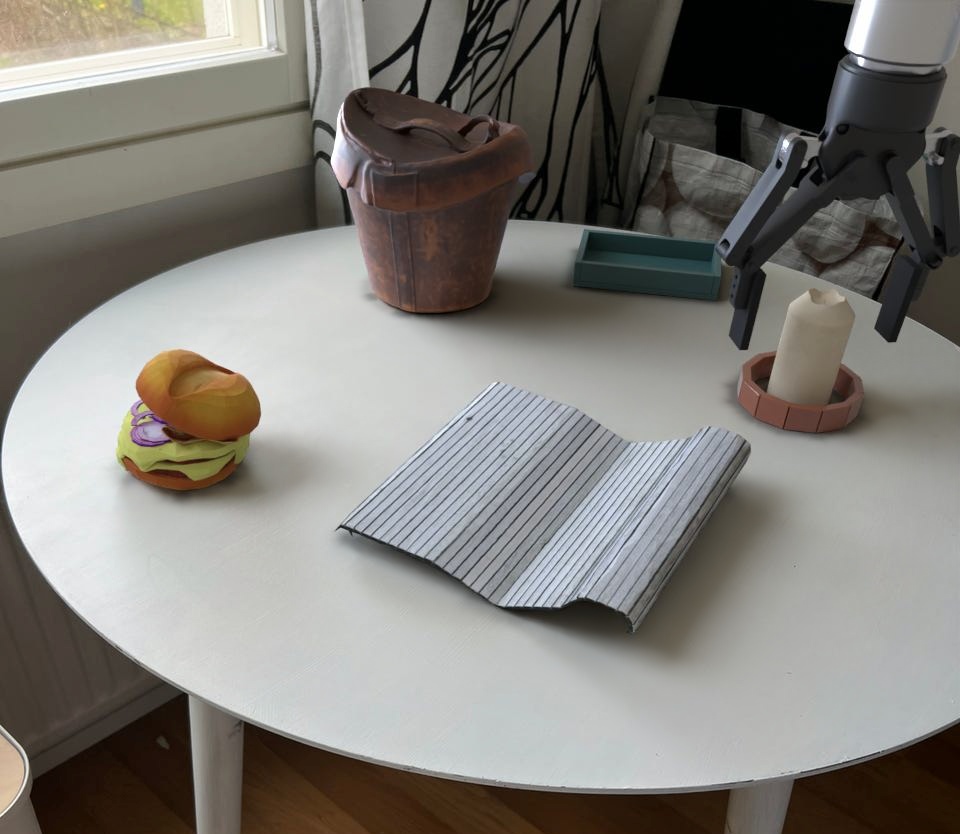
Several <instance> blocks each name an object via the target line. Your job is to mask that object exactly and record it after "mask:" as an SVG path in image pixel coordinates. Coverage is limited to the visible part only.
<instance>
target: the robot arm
mask: <svg viewBox="0 0 960 834" xmlns="http://www.w3.org/2000/svg"><path fill="white" fill-rule="evenodd" d="M843 45H844V47H845V49H846V50H847V52H848V54H846V55H844V57H842V59H840V60H839V61H838V64H837V69H836V73H835V76H834V80H833V84H832V87H831V91H830V95H829V98H828V102H827V108H826V117H825V123H824V126H823V128H822V129H821V131H820V133H819V134H818V135H817V136H816V137H814V136H806V135H799V134H797V132H795V131H794V130H792V129H786V130H784V131H783V132H782V133H781V134H780V136H779V138H778V140H777V141H778V142H777V144H776V148H775V150H774V154H773V156H772V160H771V162H770V163H769V165H768V166H767V167H766V169H765V171H764V172H763V174H762V175H761V176H760V178H759V180H758V182H756V183H755V185H754V187H753V188H752V190H751V192H750V193H749V194H748V196H747V198H746V199H745V201H744V202H743V203H742V205H741V206H740V208H739V210H738V211H737V212H736V214H735V215H734V217H733V219H732V220H731V222H730V223H729V224H728V226H727V227H726V229H725V231H724V232H723V234H722V235H721V236H720V238H719V239H718V241H717V242H718V243H717V244H716V248H715V250H716V252H717V253H718V255H719V256H720V257H721V260H723V262H724V263H725V264H726V265H727V266H728V267H733V273H732V278H731V282H730V285H729V291H728V295H727V297H728V302H729V304H730V305H731V307H732V308H733V309H734V310H733V313H732V314H733V315H732V317H731V318H732V320H731V323H730V327H729V332H728V337H729V339H730V340H731V341H732V342H733V344H734V345H735V346H736V348H737V349H738V351H748V350H749V348H750V343H751V339H752V337H753V332H754V328H755V323H756V319H757V315H758V311H759V307H760V303H761V300H762V295H763V292H764V287H765V283H766V279H767V275H768V274H767V273H766V272H765V271H764V269H762V267H763V265H765V264H766V263H767V262H768V261H769V260H770V259H771V258H772V257H773V256H774V255H775V254H776V253H777V252H778V251H779V250H780V249H781V248H782V247H783V246H784V245H785V244H786V243H787V242H788V241H789V240H790V239H791V238H792V237H793V236H794V235H795V234H796V233H797V232H798V231H799V230H800V229H801V228H802V227H803V226H804V225H805V224H806V223H807V222H809V220H810V219H812V218H813V216H814V215H815V214H817V213H818V211H820V210H822V209H825V208H827V207H829V206H830V205H831V204H833V202H834V201H835V200H836V199H837V198H838V199H839V200H840V201H842V202H849V201H854V200H855V201H856V200H857V199H861V198H862V199H866V200H868V201H879V200H880V199H881V197H882V196H884V197H885V199H886V200H887V202H888V205H889V207H890V209H891V212H892V214H893V216H894V219H895V221H896V223H897V225H898V227H899V231H900V233H901V235H902V237H903V239H904V241H905V244H906V246H907V248H908V250H909V252H910V254H911V255H910V256H909V255H908V254H899V255H898V256H897V257H898V258H897V260H896V262H895V266H894V269H893V270H892V274H891V277H890V280H889V283H888V286H887V288H886V292H885V295H884V298H883V301H882V304H881V306H880V309H879V312H878V316H877V318H876V321H875V324H874V327H873V329H874V330H875V331H876V333H878V334H879V335H880V336H881V338H883V339H884V340H885V341H886V343H888V344H889V343H890V344H891V343H892V344H893V343H897V341H898V339H899V336H900V333H901V330H902V327H903V324H904V322H905V320H906V317H907V314H908V311H909V308H910V305H911V303H912V302H917V301H918V299H919V298H920V297H921V295H922V292H923V290H924V287H925V284H926V281H927V279H928V276H929V273H930V271H936V270H938V269H939V268H940V267H942V265H943V264H944V263H943V262H944V258H946V257H948V258H952V259H953V258H955V257H957V256H958V255H959V254H960V202H959V188H958V187H959V186H958V174H957V172H958V171H957V168H958V167H957V166H958V162H959V159H960V136H959V135H958V134H956V133H954V132H952V131H951V130H949V129H947V128H946V127H945V126H939V127H937V128H935V129H934V130H933V132H932V133H929V134H926V131H927V128H928V127H929V126H930V125H931V124H932V122H933V121H934V118H935V116H936V115H935V114H936V112H937V109H938V106H939V103H940V100H941V97H942V94H943V91H944V88H945V85H946V82H947V79H948V73H947V70H946V67H944V66H943V65H946V64H949V62H951V61H952V60H953V59H954V58H955V57H956V54H957V52H958V48H959V45H960V0H855V2H854V5H853V8H852V12H851V15H850V21H849V24H848V28H847V31H846V36H845V40H844V44H843ZM812 158H814V160H815V163H816V165H815V166H814V167H813V168H812V169H811V170H809V172H808V173H807V174H806V175H804V176H803V178H802V179H800V181H799V185H798V188H797V189H796V190H795V191H793V193H792V194H791V195H789V197H788V198H787V199H786V200H785V201H784V202H783V203H782V204H780V203H781V202H782V201H783V199H784V197H785V196H786V194H787V193H788V191H789V190H790V189H791V188H792V185H793V184H794V183H795V181H796V180H797V178H798V175H799V173H800V171H801V170H802V169H806V168H807V167H808V165H809V161H810V159H812ZM921 158H922V160H923V161H924V162H925V177H926V186H927V198H928V200H927V201H928V210H929V211H928V212H929V221H930V231H931V234H930V231H929V229H928V226H927V224H926V221H925V219H924V217H923V214H922V212H921V210H920V207H919V205H918V202H917V199H916V197H915V196H916V193H915V190H914V188H913V185H912V183H911V180H910V178H909V175H908V174H907V173H908V172H909V171H910V170H911V169H912V167H913V166H914V165H916V164H917V163H918V162H919V160H921ZM822 183H823V187H820V185H822ZM779 205H780V206H779ZM776 208H777V209H776Z"/></svg>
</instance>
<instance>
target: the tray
mask: <svg viewBox="0 0 960 834" xmlns="http://www.w3.org/2000/svg"><path fill="white" fill-rule="evenodd" d="M717 243H718V241H713V240H703V239H693V238H682V237H671V236H663V235H662V236H661V235H651V234H643V233H631V232H630V233H629V232H620V231H611V230H610V231H609V230H599V229H589V228H583V230H582V235H581V238H580V241H579V246H578V250H577V253H576V256H575V259H574V267H573V268H574V269H573V277H572V286H573V287H582V288H589V289H599V290H608V291H609V290H611V291H619V292H629V293H639V294H649V295H657V296H668V297H677V298H678V297H679V298H687V299H696V300H697V299H698V300H705V301H706V300H707V301H714V302H715V301H717V299H718V294H719V289H720V285H721V280H722V258H721V257H720V256H719V255H718V253H717V252H716V250H715V248H716V244H717Z"/></svg>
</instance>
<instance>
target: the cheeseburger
mask: <svg viewBox="0 0 960 834" xmlns="http://www.w3.org/2000/svg"><path fill="white" fill-rule="evenodd" d="M135 390H136V393H137V396H138V397H139V398H140V399H139V400H138V401H136V402H134V403H133V404H132V406H131V407H130V408H129V410H128V412H126V414H125V416H124V418H123V419H122V422H121V423H122V424H121V430H120V431H119V433H118V434H117V445H116V447H115V455H116V459H117V462H118V464H119V465H120V466H121V467H122V468H123V469H124V471H125V472H127V473H130V474H131V475H132V476H134V477H135V478H136V479H138V480H140V481H143V482H146V483H148V484H151V485H154V486H156V487H161V488H166V489H170V490H171V489H172V490H177V491H187V490H196V489H206V488H207V487H210V486H211V485H214V484H216V483H218V482H221V481H223V480H225V479H226V478H227V477H229V475H230V474H232V473H233V472H234V471H235V470H236V469H237V468H238V466H239V464H241V463H242V461H243V460H244V459H245V457H246V455H247V452H248V450H249V447H250V439H251V438H250V437H251V434H252V433H253V431H255V430H256V428H257V427H258V426H259V424H260V421H261V417H262V408H261V402H260V399H259V397H258V394H257V393H256V391H255V389H254V386H253V385H252V383H251V381H249V379H247V377H245V375H243V374H241V373H239V372H235V371H232V370H231V369H229V368H227V367H224V366H221V365H219V364H217V363H214V362H213V361H211V360H209V359H208V358H206V357H205V356H203V355H202V354H199V353H196V352H194V351H191V350H187V349H181V348H179V349H170V350H163V351H162V352H160V353H158V354H156V355H155V356H154V357H153V358H151V359H149V360H148V362H146V363H145V365H144V366H143V368H142V369H141V371H140V372H139V373H138V376H137V377H136V380H135Z"/></svg>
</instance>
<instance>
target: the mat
mask: <svg viewBox="0 0 960 834" xmlns="http://www.w3.org/2000/svg"><path fill="white" fill-rule="evenodd" d="M751 454H752V445H751V442H749V441H748V440H747V439H746V438H744V437H743V436H742V435H741V434H738V433H735V432H732V431H729V430H727V429H723V428H720V427H715V426H710V425H707V426H705V427H702V428H699V430H697V432H695V433H694V434H693V435H691V436H688V437H686V438H680V439H678V438H677V439H668V440H664V441H642V442H641V441H640V442H635V441H628V440H625V439H624V438H622V437H621V436H619V435H618V434H616V433H615V432H613V431H612V430H610V429H608V428H607V427H606V426H604V425H602V424H601V423H600V422H598V421H597V420H595V419H594V418H593V417H591V416H590V415H588V414H586V413H585V412H583V411H582V410H580V409H578V408H577V407H575V406H571V405H568V404H565V403H562V402H560V401H556V400H553V399H550V398H547V397H545V396H543V395H539V394H537V393H533V392H531V391H527V390H525V389H522V388H519V387H516V386H514V385H512V384H511V385H510V384H508V383H505V382H501V381H495V382H492V383H489V384H488V385H487V386H486V387H484V389H483V390H482V391H481V392H480V393H478V394H477V395H476V396H475V397H474V398H473V399H472V400H471V401H470V402H469V403H468V404H467V405H466V406H465V407H463V409H461V410H459V412H458V413H457V414H456V415H454V416H453V417H452V419H450V420H449V421H448V422H447V423H446V424H445V425H444V426H442V428H441V429H439V430H438V431H437V432H436V433H435V434H434V435H433V436H432V437H431V438H430V439H428V440H427V441H426V442H425V443H424V444H423V445H422V446H421V447H419V449H417V450H416V451H415V452H414V454H412V455H411V456H410V457H409V458H408V459H407V460H406V461H404V463H402V464H401V465H400V466H399V467H398V468H397V469H396V470H395V471H394V472H393V473H392V474H391V475H390V476H388V477H387V478H386V479H385V480H384V481H383V482H382V483H381V484H380V485H379V486H377V487H376V488H375V489H374V490H373V491H372V492H371V493H369V495H368V496H367V497H366V498H365V499H364V500H362V502H360V503H359V504H358V506H356V507H355V508H354V509H353V510H352V511H351V512H350V513H349V514H348V515H347V516H346V517H345V518H344V520H343V521H342V522H341V523H340V524H339V525H338V526H337V528H336V529H335V530H334V531H333V533H335V532H336V531H338V530H339V529H343V530H344V531H345V530H346V531H348V532H349V534H350V536H351V537H352V538H354V536H353V535H354V534H356V535H359V536H361V537H363V538H366V539H368V540H371V541H373V542H376V543H378V544H380V545H385V546H387V547H389V548H391V549H394V550H396V551H399V552H401V553H404V554H405V555H409V556H410V557H413V558H415V559H417V560H419V561H422V562H424V563H426V564H428V565H430V566H433V567H435V568H436V569H439V570H440V571H441V572H443V573H445V574H446V575H448V576H450V577H451V578H453V579H455V580H456V581H458V582H459V583H461V585H463V586H465V587H466V588H468V589H469V590H470V591H472V592H473V593H475V594H477V595H478V596H479V597H481V598H482V599H484V600H486V601H487V602H489V603H491V604H492V605H494V606H496V607H497V608H503V609H510V610H534V611H535V610H538V611H558V610H561V609H563V608H566V607H568V606H572V604H576V603H578V602H581V601H584V602H592V603H597V604H598V603H599V604H601V605H603V606H604V607H606V608H609V609H611V610H613V611H615V612H617V613H620V614H621V615H622V616H623V617H625V618H626V619H627V620H628V621H629V625H628V627H627V629H626V633H627V634H629V633H631V634H634V633H635V632H636V630H637V629H638V628H639V627H640V626H641V624H642V623H643V622H644V620H645V619H646V617H647V616H648V614H649V613H650V612H651V610H652V609H653V606H654V605H655V603H656V601H657V600H658V598H659V596H660V595H661V593H662V591H663V590H664V589H665V588H666V586H667V585H668V583H669V582H670V581H671V579H672V577H673V575H674V574H675V572H676V571H677V570H678V567H679V566H680V564H681V562H682V561H683V560H684V558H685V556H686V555H687V553H688V551H689V550H690V549H691V547H692V545H693V543H694V542H695V541H696V539H697V538H698V536H699V535H700V533H701V531H702V530H703V529H704V527H705V526H706V524H707V523H708V521H709V520H710V518H711V516H712V515H713V513H714V512H715V511H716V509H717V508H718V506H719V504H720V503H721V502H722V500H723V498H724V497H725V496H726V494H727V493H728V491H729V489H730V488H731V486H732V485H733V483H734V482H735V481H736V479H737V478H738V476H739V474H740V473H741V472H742V470H743V469H744V467H745V466H746V464H747V462H748V460H749V458H750V456H751ZM353 533H354V534H353Z"/></svg>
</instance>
